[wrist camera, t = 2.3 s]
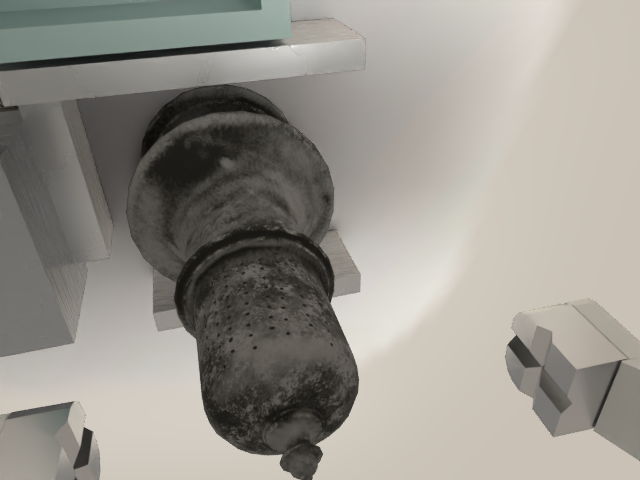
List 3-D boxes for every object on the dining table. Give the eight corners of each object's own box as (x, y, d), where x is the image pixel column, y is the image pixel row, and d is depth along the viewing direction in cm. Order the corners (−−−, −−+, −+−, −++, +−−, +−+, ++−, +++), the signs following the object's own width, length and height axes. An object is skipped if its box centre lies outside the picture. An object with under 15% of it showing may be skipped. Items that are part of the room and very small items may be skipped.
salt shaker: (272, 248, 20) (385, 573, 10) (113, 216, 17) (62, 603, 8) (331, 107, 17) (552, 360, 8) (155, 47, 15) (157, 305, 5)
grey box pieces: (-81, 319, 18) (-143, 427, 14) (-240, 64, 13) (-397, 127, 9) (336, 246, 21) (374, 319, 17) (333, 18, 16) (386, 51, 12)
